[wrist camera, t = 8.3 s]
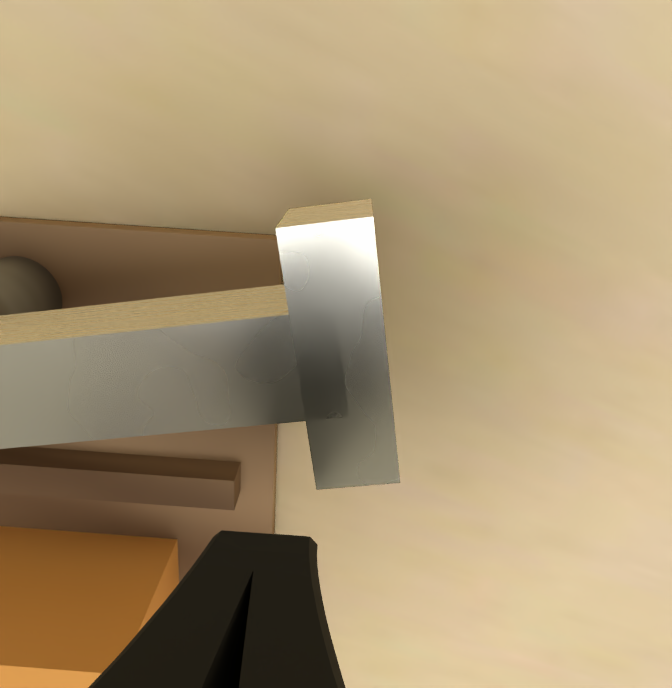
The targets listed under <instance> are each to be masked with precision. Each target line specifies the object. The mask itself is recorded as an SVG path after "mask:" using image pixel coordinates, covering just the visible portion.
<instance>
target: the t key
mask: <svg viewBox="0 0 672 688" xmlns="http://www.w3.org/2000/svg"><path fill="white" fill-rule="evenodd" d="M275 230H276V236H277V243H278V249H279V255H280V262H281V268H282V274H283V281H284V284H283V285H274V286H265V287H255V288H246V289H237V290H228V291H219V292H210V293H201V294H192V295H183V296H174V297H165V298H156V299H147V300H138V301H128V302H119V303H110V304H101V305H92V306H83V307H74V308H65V309H56V310H47V311H38V312H29V313H20V314H10V315H1V316H0V449H6V448H17V447H28V446H39V445H49V444H60V443H71V442H82V441H93V440H104V439H115V438H126V437H136V436H147V435H158V434H169V433H180V432H191V431H202V430H213V429H223V428H234V427H245V426H256V425H267V424H278V423H289V422H299V421H306V426H307V432H308V439H309V445H310V451H311V458H312V464H313V470H314V477H315V483H316V489H317V490H319V489H331V488H343V487H355V486H367V485H379V484H391V483H400V475H399V465H398V455H397V445H396V436H395V426H394V416H393V406H392V396H391V386H390V377H389V367H388V357H387V347H386V337H385V327H384V318H383V308H382V298H381V288H380V278H379V268H378V258H377V249H376V239H375V229H374V219H373V209H372V200H371V199H366V200H357V201H349V202H341V203H332V204H324V205H316V206H307V207H299V208H291V209H289V210H288V211H287V212H286V214H285V215H284V217H283V218H282V219H281V221H280V222H279V224H278V225H277V226H276V228H275Z"/></svg>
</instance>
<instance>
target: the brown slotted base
mask: <svg viewBox="0 0 672 688" xmlns="http://www.w3.org/2000/svg"><path fill="white" fill-rule="evenodd" d="M281 284H282V268H281V262H280V255H279V249H278V243H277V236H276V235H264V234H249V233H234V232H219V231H205V230H190V229H175V228H160V227H145V226H130V225H115V224H100V223H85V222H70V221H55V220H41V219H26V218H11V217H0V316H1V315H10V314H20V313H29V312H38V311H47V310H56V309H65V308H74V307H83V306H92V305H101V304H110V303H119V302H128V301H138V300H147V299H156V298H165V297H174V296H183V295H192V294H201V293H210V292H219V291H228V290H237V289H246V288H255V287H265V286H274V285H281ZM276 459H277V424H267V425H256V426H245V427H234V428H223V429H213V430H202V431H191V432H180V433H169V434H158V435H147V436H136V437H126V438H115V439H104V440H93V441H82V442H71V443H60V444H49V445H39V446H28V447H17V448H6V449H0V526H6V527H19V528H33V529H46V530H60V531H73V532H86V533H100V534H113V535H126V536H140V537H153V538H167V539H177V541H178V566H179V582H180V581H181V580H182V579H183V577H184V576H185V575H186V573H187V572H188V571H189V570H190V568H191V567H192V566H193V564H194V563H195V562H196V560H197V559H198V557H199V556H200V555H201V553H202V552H203V551H204V549H205V548H206V546H207V545H208V543H209V542H210V541H211V539H212V538H213V536H215V535H216V534H217V533H219V532H220V531H221V530H225V531H239V532H252V533H266V534H274V528H275V494H276Z"/></svg>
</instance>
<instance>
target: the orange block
mask: <svg viewBox="0 0 672 688" xmlns="http://www.w3.org/2000/svg"><path fill="white" fill-rule="evenodd" d="M178 584H179V566H178V541H177V539H167V538H153V537H140V536H126V535H113V534H100V533H86V532H73V531H60V530H46V529H33V528H19V527H6V526H0V688H88V687H89V686H90V685H91V684H92V683H93V682H94V681H95V680H96V679H97V678H98V677H99V676H100V675H101V674H102V672H103V671H104V670H105V669H106V668H107V667H108V666H109V665H110V664H111V663H112V662H113V661H114V660H115V659H116V657H117V656H118V655H119V654H120V653H121V652H122V651H123V650H124V648H125V647H126V646H127V645H128V644H129V643H130V641H131V640H132V639H133V638H134V637H135V636H136V634H137V633H138V632H139V631H140V630H141V629H142V627H143V626H144V625H145V624H146V623H147V621H148V620H149V619H150V618H151V617H152V616H153V614H154V613H155V612H156V611H157V610H158V609H159V607H160V606H161V605H162V604H163V603H164V601H165V600H166V599H167V598H168V596H169V595H170V594H171V593H172V591H173V590H174V589H175V588H176V586H177V585H178Z"/></svg>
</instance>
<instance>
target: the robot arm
mask: <svg viewBox="0 0 672 688" xmlns="http://www.w3.org/2000/svg"><path fill="white" fill-rule="evenodd" d="M88 688H345V685H344V682H343V678H342V675H341V671H340V668H339V664H338V661H337V657H336V654H335V650H334V647H333V643H332V640H331V636H330V632H329V628H328V624H327V620H326V615H325V611H324V606H323V601H322V595H321V590H320V584H319V577H318V568H317V544H316V543H315V542H314V541H313V539H312V538H311V537H307V536H293V535H280V534H266V533H252V532H239V531H225V530H221V531H220V532H219V533H217V534H216V535H215V536H213V538H212V539H211V541H210V542H209V543H208V545H207V546H206V548H205V549H204V551H203V552H202V553H201V555H200V556H199V557H198V559H197V560H196V562H195V563H194V564H193V566H192V567H191V568H190V570H189V571H188V572H187V573H186V575H185V576H184V577H183V579H182V580H181V581H180V582H179V584H178V585H177V586H176V588H175V589H174V590H173V591H172V593H171V594H170V595H169V596H168V598H167V599H166V600H165V601H164V603H163V604H162V605H161V606H160V607H159V609H158V610H157V611H156V612H155V613H154V614H153V616H152V617H151V618H150V619H149V620H148V621H147V623H146V624H145V625H144V626H143V627H142V629H141V630H140V631H139V632H138V633H137V634H136V636H135V637H134V638H133V639H132V640H131V641H130V643H129V644H128V645H127V646H126V647H125V648H124V650H123V651H122V652H121V653H120V654H119V655H118V656H117V657H116V659H115V660H114V661H113V662H112V663H111V664H110V665H109V666H108V667H107V668H106V669H105V670H104V671H103V672H102V674H101V675H100V676H99V677H98V678H97V679H96V680H95V681H94V682H93V683H92V684H91V685H90V686H89V687H88Z"/></svg>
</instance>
